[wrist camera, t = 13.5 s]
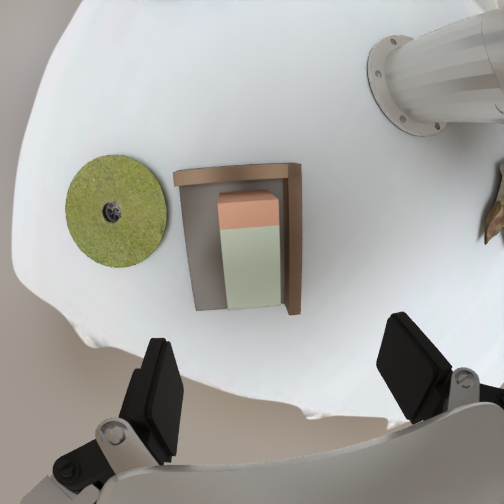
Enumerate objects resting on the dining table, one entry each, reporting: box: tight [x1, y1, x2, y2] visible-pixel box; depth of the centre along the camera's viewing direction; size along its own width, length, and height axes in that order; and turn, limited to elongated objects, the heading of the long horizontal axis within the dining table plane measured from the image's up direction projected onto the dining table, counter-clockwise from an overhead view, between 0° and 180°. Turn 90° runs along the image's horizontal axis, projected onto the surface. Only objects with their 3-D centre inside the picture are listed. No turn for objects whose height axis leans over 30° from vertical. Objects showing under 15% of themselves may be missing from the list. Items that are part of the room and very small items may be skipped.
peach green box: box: [218, 189, 281, 310], centre depth 25 cm, size 9×4×6 cm, turn 3°
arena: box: [173, 163, 302, 315], centre depth 27 cm, size 11×15×3 cm
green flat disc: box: [65, 155, 167, 268], centre depth 25 cm, size 11×11×2 cm
